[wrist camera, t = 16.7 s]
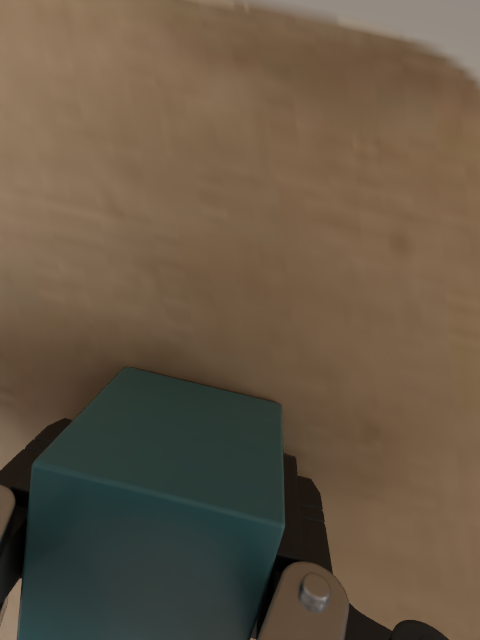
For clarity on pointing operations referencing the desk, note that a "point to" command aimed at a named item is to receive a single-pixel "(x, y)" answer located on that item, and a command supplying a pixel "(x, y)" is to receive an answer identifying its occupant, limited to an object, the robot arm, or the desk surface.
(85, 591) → the block
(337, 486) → the desk surface
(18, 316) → the desk surface
